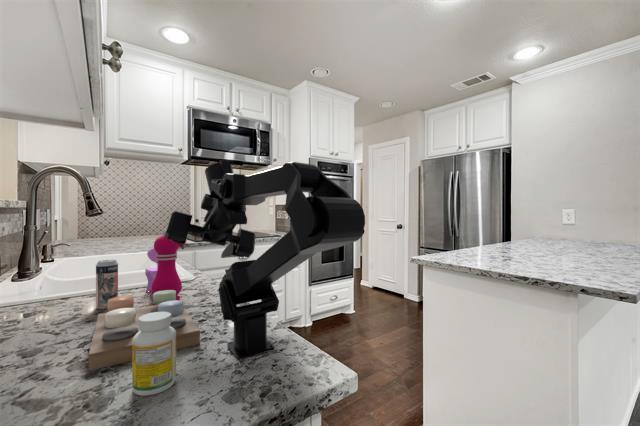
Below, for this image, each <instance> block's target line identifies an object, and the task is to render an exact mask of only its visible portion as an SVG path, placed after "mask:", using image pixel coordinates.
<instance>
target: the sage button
mask: <svg viewBox="0 0 640 426" xmlns="http://www.w3.org/2000/svg"><path fill="white" fill-rule="evenodd" d="M152 295H153V296H152V300H153V302H152V304H157V305H159V304H160V303H163V302H167V301H174V300H176V291H175V290H163V291H158V292H155V293H153V294H152Z"/></svg>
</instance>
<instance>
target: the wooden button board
mask: <svg viewBox="0 0 640 426" xmlns="http://www.w3.org/2000/svg"><path fill="white" fill-rule="evenodd" d="M134 309H135V322H134V323H132V324H130V325H127V326H123V327H117V328H108V327H106V326H105V314H106V313H107V312H103V313H98V315H97V319H96V322H95V323H96V324H95V327H94V332H93V336H92V340H91V343H90V348H89V352H88V372H90V371H93V370H98V369H101V368H102V369H103V368H106V367H111V366H115V365H118V364H119V365H120V364H124V363H128V362H132V342H133V338H134V336H135V335H136V334H137V333H138V332H139V331H141V330H139V328H138V319H139V317H141V316H143V315H145V314H148V313H153V312H158V305H154V306H153V305H150V306H149V305H147V306H142V307H137V308H136V307H135V308H134ZM169 326H171V327H173V328H174V329H175V330H176V351H177V350H181V349H185V348H188V347H192V346H197V345H200V344H201V330H200V328H199V327H198V326H197V324H196V322H195V321H194V319H193V318H192V317H191V315H190V314H189V312H188V311H187V309H186V307H184V313H183V314H182V315H180V316H177V317H172V318H171V324H170V325H169Z"/></svg>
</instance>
